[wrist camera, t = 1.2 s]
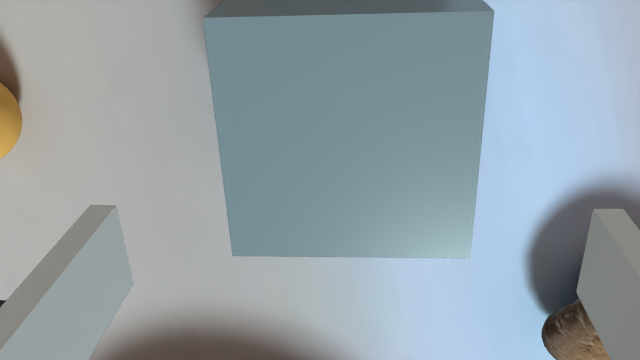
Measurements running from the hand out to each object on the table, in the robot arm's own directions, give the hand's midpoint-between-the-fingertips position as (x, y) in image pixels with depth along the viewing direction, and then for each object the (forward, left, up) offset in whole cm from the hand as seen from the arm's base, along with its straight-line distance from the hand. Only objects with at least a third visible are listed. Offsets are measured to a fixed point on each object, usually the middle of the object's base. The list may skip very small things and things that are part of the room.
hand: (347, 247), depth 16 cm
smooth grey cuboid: (0, 0, -16) cm, 16 cm away
